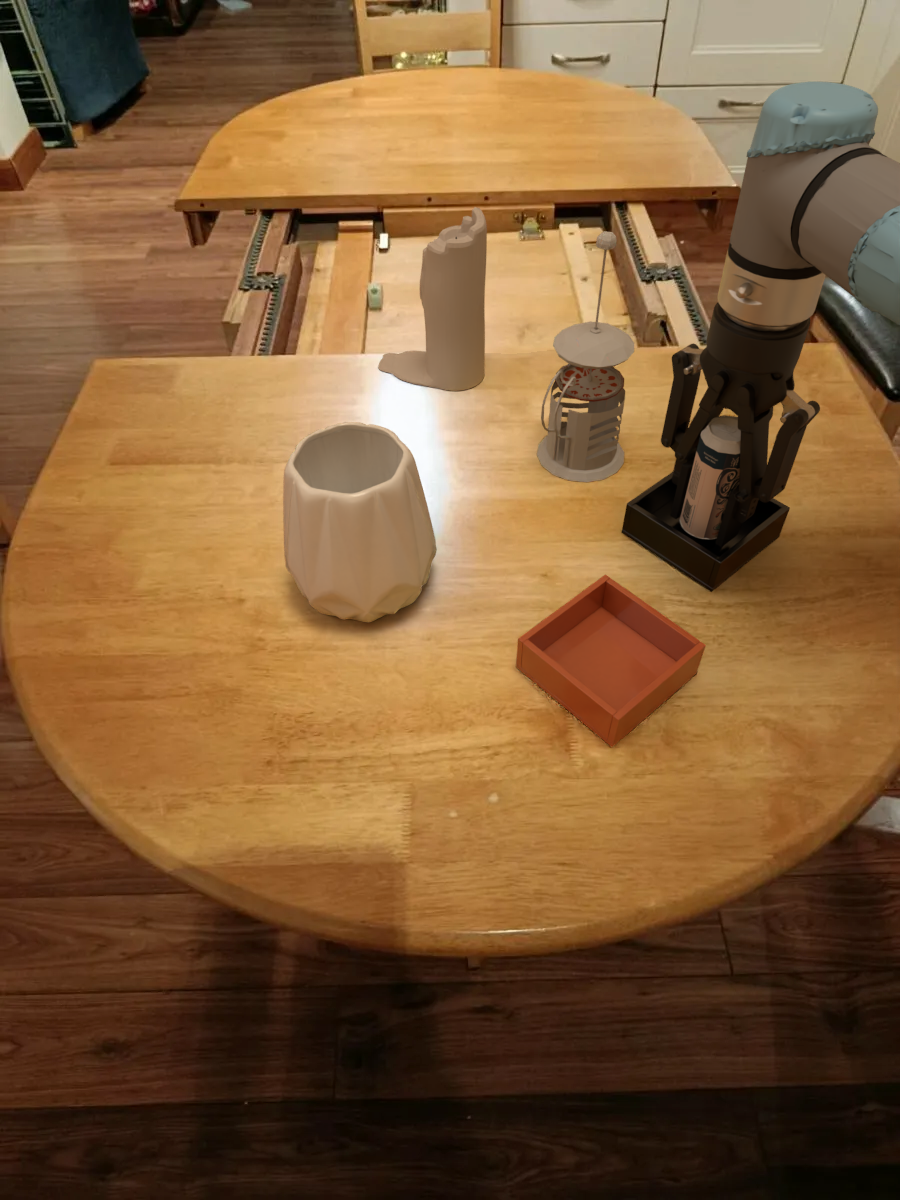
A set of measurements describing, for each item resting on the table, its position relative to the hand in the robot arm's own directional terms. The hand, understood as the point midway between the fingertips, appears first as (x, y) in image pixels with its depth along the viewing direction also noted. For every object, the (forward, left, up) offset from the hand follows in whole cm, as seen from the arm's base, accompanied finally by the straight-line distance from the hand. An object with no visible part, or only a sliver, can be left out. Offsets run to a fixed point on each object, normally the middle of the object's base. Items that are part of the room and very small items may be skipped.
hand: (703, 524), depth 85 cm
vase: (+18, +29, -2) cm, 34 cm away
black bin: (0, 0, -2) cm, 2 cm away
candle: (+41, 0, -2) cm, 41 cm away
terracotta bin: (-5, +20, -2) cm, 21 cm away
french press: (+17, 0, -2) cm, 17 cm away
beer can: (0, 0, -1) cm, 1 cm away
